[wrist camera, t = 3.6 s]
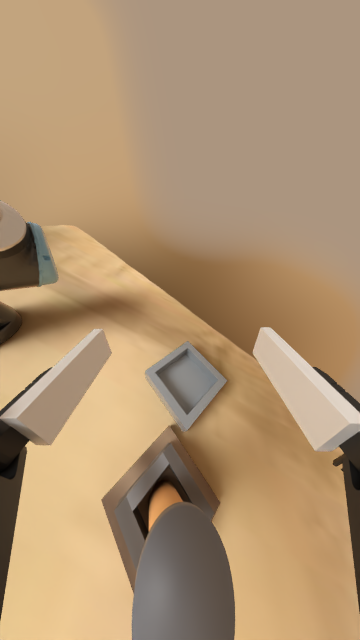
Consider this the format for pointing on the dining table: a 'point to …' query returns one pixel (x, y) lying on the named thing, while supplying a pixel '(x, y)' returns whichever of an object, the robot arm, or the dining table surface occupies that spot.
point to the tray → (185, 383)
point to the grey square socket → (135, 489)
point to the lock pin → (182, 575)
